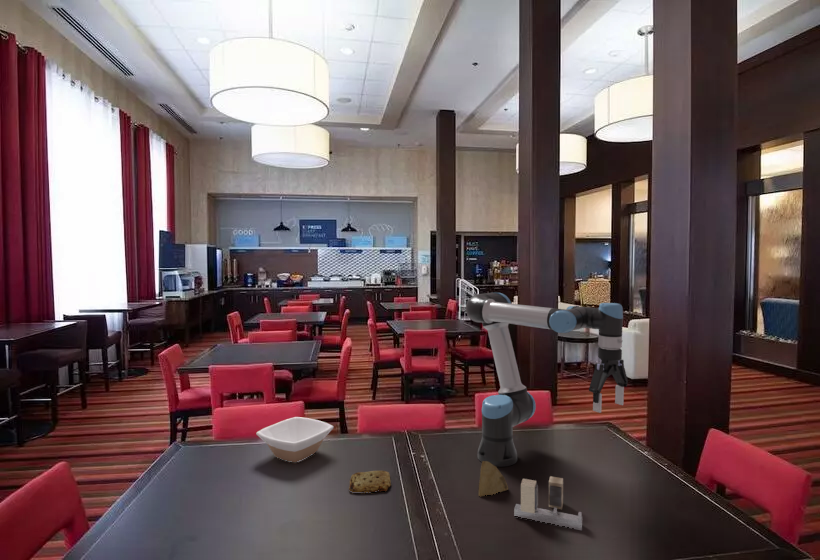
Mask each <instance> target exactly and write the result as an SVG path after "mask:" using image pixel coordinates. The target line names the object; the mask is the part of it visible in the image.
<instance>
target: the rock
mask: <svg viewBox="0 0 820 560" xmlns="http://www.w3.org/2000/svg"><path fill="white" fill-rule="evenodd" d="M480 465H481V466H480V470H479V472H480V473H479V474H480V475H479V482H478V491H477V494H478V497H479V496H480V497H479V498H481V497H488V496H487V495H491V496H494V495H497V494H498V492H500V493H502V492H505V491H508V490H509V486H508V483H507V480H506V478H505V476H504V475H503V474H502V472H501V471H500V470H499V468H498V466H494V465H493V464H491V463H490V462H487V461H482V462H481V464H480ZM496 493H497V494H496ZM493 494H494V495H493ZM485 495H486V496H485Z"/></svg>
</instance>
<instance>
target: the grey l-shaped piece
mask: <svg viewBox="0 0 820 560" xmlns="http://www.w3.org/2000/svg"><path fill="white" fill-rule="evenodd" d="M538 506H539V485H538V484H537V480H534V479H533V480H532V479H528V478H522V480H521V483H520V504H519V503H515V506H514V508H513V509H514V510H513V512H514V513H513V516H518V517H521V518H520V519H522V518H527V519H532V520H535V521H534V522H537V521H540V522H539V523H542V522H545V523H544V524H547V523H551V524H550V525H552V524H555V525H554V526H557V525H559V526H558V527H562V526H565V527H564V528H567V527H569V528H568V529H572V528H574V529H573V530H578V531H583V515H582V512H581V511H578V514H577V515H576V514H571V513H566V512H561V511H558V509H557V508H556V507H554V508H553V510H549V509H546V508H542V507H541V508H539V507H538ZM518 517H517V518H518ZM527 519H526V520H527ZM532 520H531V521H532Z"/></svg>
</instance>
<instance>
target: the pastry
mask: <svg viewBox="0 0 820 560" xmlns="http://www.w3.org/2000/svg"><path fill="white" fill-rule="evenodd" d="M391 483H392V482H391V475H390V472H389V471H386V470H370V471H359V472H355V473H353V474H351V476H350V479H349V487H348V491H349V490H350V491H352V492H365V493H366V492H368V493H369V492H375V491H378V490H379V491H378V492H381V491H385V492H387V491H388V489H389V488H390V487H391V486H392V484H391ZM350 491H349V492H350ZM365 493H364V494H365Z"/></svg>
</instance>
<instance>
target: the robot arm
mask: <svg viewBox="0 0 820 560" xmlns="http://www.w3.org/2000/svg"><path fill="white" fill-rule="evenodd" d="M598 306H599V307H587V306H579V305H569V306H568V307H566V309H563V308H553V307H543V306H537V305H525V304H517V303H516V304H515V303H512V302H511V299H510V298H509V297H508V296H507V295H506V294H504V293H501V292H494V291H493V292H488V293H487V292H486V293H477V294H474V295H472V296H470V297H469V299H468V300H467V302H466V305H465V313H466V314H467V316H468V319H470V320H471V321H473V322H475V323H481V324H482V328H483V329H485V330H486V331H487V333H488V334H487V335H488V338H489V343H490V348H491V351H492V356H493V360H494V361H493V362H494V364H495V368H496V373H497V377H498V381H499V387H500V388H499V390H498V391H497V394H495V395H494V394H493V395H490V396H487V397H485V398H484V399H483V401H482V404H481V405H482V407H481V440H480V443H479V445H478V449H477V460H478V461H480V463H482V461H487V462H490V463H491V464H493V465H494V466H496V467H497V468H498V467H502V468H503V467H509V466H513V465H515V464H516V463H517V462H518V451H517V449H516V446H515V444H514V439H513V437H514V435H513V428H514V427H516V426H518V425H519V424H522V423H526V422H527V421H528V420H529V419H531V418H532V417H533V416H534V414H535V412H536V408H537V406H536V401H535V398H534V397H533V395H532V394H531V393H530V392H529V391H528V389H527V386H526V385H524V384H523V383H522V381H521V376H520V371H519V368H518V364H517V359H516V354H515V351H514V347H513V341H512V338H511V334H510V329H509V325H510V324H511V325H517V326H525V327H532V328H540V329H545V330H546V329H548V330H553V331H554V332H556V333H559V334H566V333H570V332H573V331H576V330H580V329H581V330H582V329H593V330H598V340H597V342H598V349H597V351H598V352H597V353H598V354H597V357H598V358H599V359H600V360H601V362H600V363H597V362H596V363H595V364H594V371H593V375H592V377H591V380H590V384H589V387H588V391H589V392H591V393H592V411H593V412H596V413H602V403H603V400H602V398H603V397H602V396H603V395H602V394H603V393H601V392H602V390H603V387H604V385H605V384H606V381H607V378H609V377H610V376H611V375H612V378H613V379H614V381H615V384H616V385H615V388H614V389H615V392H614V393H615V397H614V404H617V405H620V406H624V398H625V394H624V393H625V392H624V391H625V387H626V388H627V387H628V383H629V380H628V376H627V372H626V369H625V365H624V359H623V358H622V355H623V350H622V349H621V348H623V325H624V323H623V321H624V311H623V310H624V309H623V306H622V304H621V303H617V302H601V303H599V305H598Z"/></svg>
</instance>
